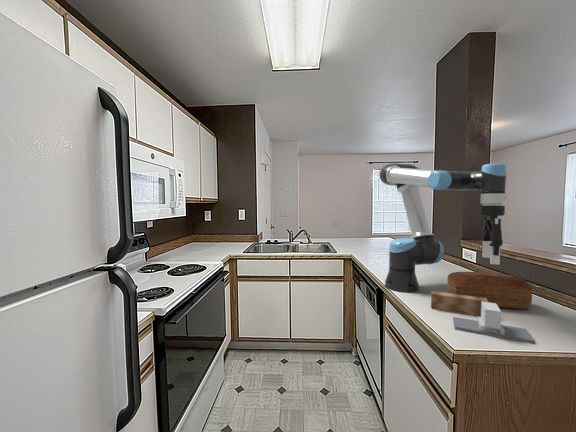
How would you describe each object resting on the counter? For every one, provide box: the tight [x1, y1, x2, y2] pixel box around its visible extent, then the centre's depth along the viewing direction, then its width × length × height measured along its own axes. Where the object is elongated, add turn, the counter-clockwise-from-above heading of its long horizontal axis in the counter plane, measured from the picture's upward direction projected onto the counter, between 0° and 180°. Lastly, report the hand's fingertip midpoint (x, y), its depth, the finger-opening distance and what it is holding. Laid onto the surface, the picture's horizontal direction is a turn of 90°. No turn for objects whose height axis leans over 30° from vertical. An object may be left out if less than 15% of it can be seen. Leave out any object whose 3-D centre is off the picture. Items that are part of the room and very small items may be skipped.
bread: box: [446, 271, 533, 310], centre depth 115 cm, size 14×28×12 cm, turn 74°
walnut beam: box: [430, 290, 488, 317], centre depth 107 cm, size 18×4×6 cm, turn 62°
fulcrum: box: [452, 301, 536, 344], centre depth 90 cm, size 20×9×8 cm, turn 63°
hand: (490, 260), depth 108 cm, fingers open, 13 cm apart
